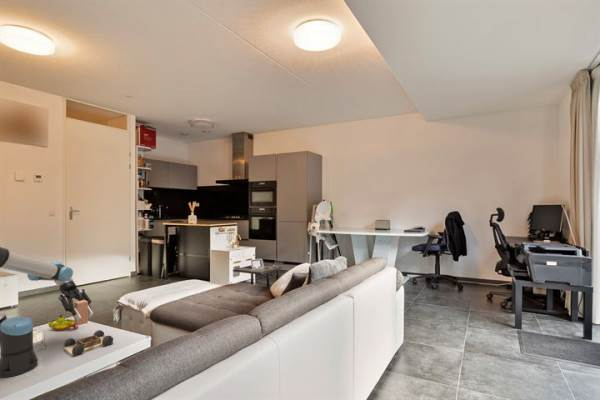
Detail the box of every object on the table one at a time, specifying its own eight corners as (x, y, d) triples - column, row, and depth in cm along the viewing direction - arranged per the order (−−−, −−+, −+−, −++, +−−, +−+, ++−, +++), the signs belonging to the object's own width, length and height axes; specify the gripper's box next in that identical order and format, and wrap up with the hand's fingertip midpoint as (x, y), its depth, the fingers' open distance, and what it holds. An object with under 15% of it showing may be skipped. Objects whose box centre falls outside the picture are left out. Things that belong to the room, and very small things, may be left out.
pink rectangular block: (77, 325, 178) (77, 303, 178) (74, 323, 181) (74, 302, 181) (87, 322, 182) (87, 301, 182) (84, 320, 185) (84, 299, 185)
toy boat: (73, 331, 200) (73, 315, 200) (44, 332, 200) (44, 315, 200) (80, 327, 206) (80, 311, 206) (53, 328, 207) (52, 312, 207)
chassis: (71, 357, 165) (71, 347, 165) (63, 349, 174) (62, 340, 174) (114, 343, 181) (114, 334, 181) (104, 337, 190) (103, 328, 190)
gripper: (79, 285, 196) (98, 315, 190) (45, 293, 179) (64, 327, 173) (85, 277, 195) (104, 307, 188) (51, 284, 177) (71, 318, 171)
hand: (85, 316), depth 180 cm, fingers closed on pink rectangular block, 6 cm apart
